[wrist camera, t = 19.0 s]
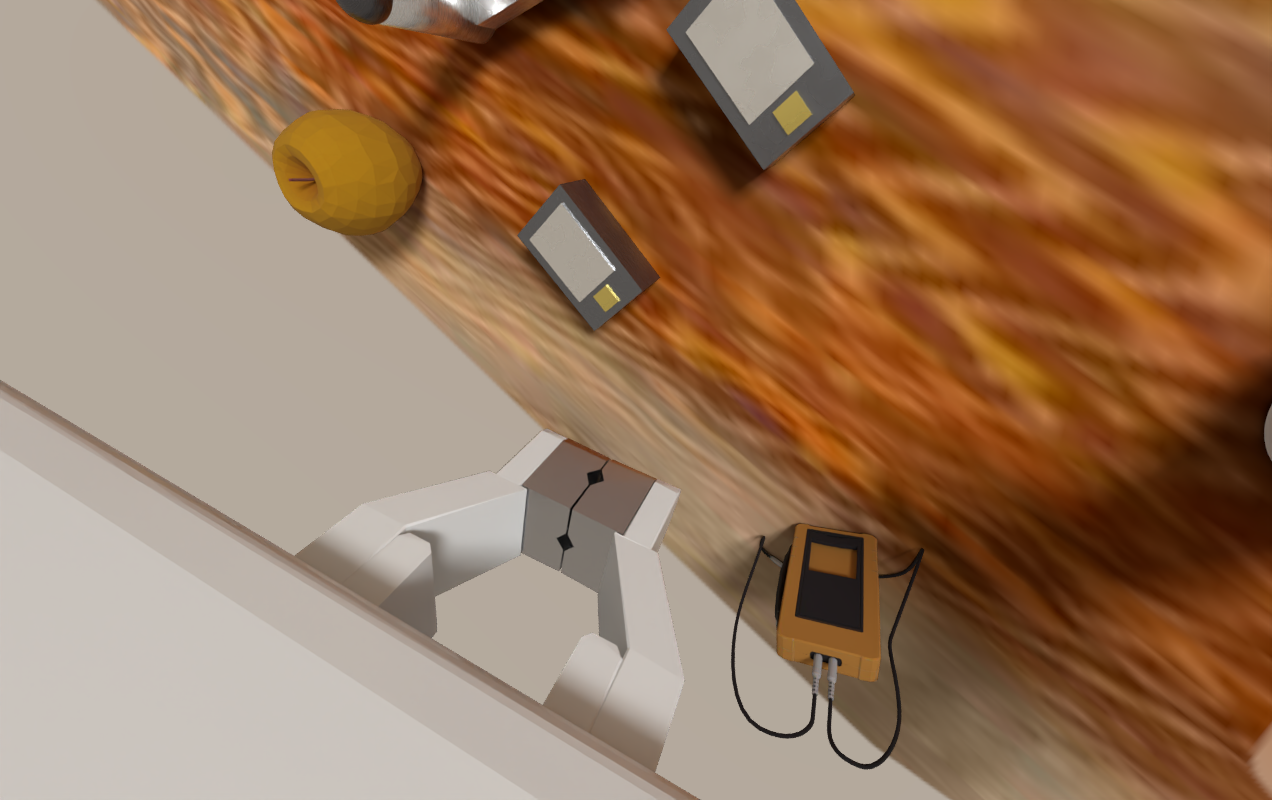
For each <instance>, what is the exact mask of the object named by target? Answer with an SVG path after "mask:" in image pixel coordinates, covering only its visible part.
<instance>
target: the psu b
mask: <svg viewBox="0 0 1272 800" xmlns="http://www.w3.org/2000/svg"><path fill="white" fill-rule="evenodd" d="M667 31H668V33H669V34H670V36H671V37H672V38H673V40H674V41H675V43H676V44H677V46H678V47H679V49H680V50H681V51H682V53H683V54H684V56H685V57H686V59H687V60H688V62H689V63H690V64H691V66H692V67H693V69H694V70H695V72H696V73H697V75H698V76H699V78H700V79H701V80H702V82H703V83H704V85H705V86H706V88H707V89H708V91H709V92H710V93H711V95H712V96H713V98H714V99H715V101H716V102H717V104H718V105H719V106H720V108H721V109H722V111H723V112H724V114H725V115H726V117H727V118H728V119H729V121H730V122H731V124H732V125H733V127H734V128H735V130H736V131H737V132H738V134H739V135H740V137H741V138H742V140H743V141H744V143H745V144H746V145H747V147H748V148H749V150H750V151H751V153H752V154H753V156H754V157H755V158H756V160H757V161H758V163H759V164H760V166H761V167H762V169H763V170H765V169H767V168H769V167H771V166H773V165H774V164H775V163H776V162H778V161H779V160H780V159H781V158H782V157H783V156H785V155H786V154H787V153H788V152H789V151H790V150H792V149H793V148H794V147H795V146H796V145H797V144H799V143H800V142H801V141H802V140H803V139H805V138H806V137H807V136H808V135H809V134H810V133H812V132H813V131H814V130H815V129H816V128H817V127H819V126H820V125H821V124H822V123H823V122H824V121H826V120H827V119H828V118H829V117H830V116H831V115H833V114H834V113H835V112H836V111H837V110H838V109H840V108H841V107H842V106H843V105H844V104H845V103H847V102H848V101H849V100H850V99H851V98H852V97H854V96H855V94H854V92H853V90H852V89H851V87H850V86H849V84H848V83H847V81H846V79H845V78H844V76H843V75H842V73H841V72H840V70H839V68H838V67H837V65H836V64H835V62H834V61H833V59H832V57H831V56H830V54H829V53H828V51H827V50H826V48H825V47H824V45H823V43H822V42H821V40H820V39H819V37H818V36H817V34H816V32H815V31H814V29H813V28H812V26H811V25H810V23H809V21H808V20H807V18H806V17H805V15H804V14H803V12H802V11H801V9H800V7H799V6H798V4H797V3H796V1H795V0H690V1H689V2H688V4H687V5H686V6H685V7H684V9H683V10H682V11H681V12H680V14H679V15H678V16H677V17H676V19H675V20H674V21H673V22H672V24H671V25H670V26H669V27H668V29H667Z"/></svg>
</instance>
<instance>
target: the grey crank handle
mask: <svg viewBox="0 0 1272 800" xmlns="http://www.w3.org/2000/svg"><path fill="white" fill-rule="evenodd" d="M542 1H543V0H336V2H337V3H338V4H339V6H340V7H341V8H342V9H343V10H344V11H345V12H346V13H347V14H348V15H349V16H351V17H352V18H354V19H355V20H357V21H359V22H362V23H365V24H370V25H376V24H380V25H385V26H390V27H396V28H401V29H406V30H411V31H416V32H421V33H427V34H432V35H437V36H442V37H447V38H452V39H458V40H463V41H468V42H473V43H478V44H483V43H486V42H488V41H489V40H490V39H491V38H492V36H493V34H494V32H495V29H497V28H498V27H500V26H502V25H503V24H505V23H507V22H508V21H510V20H512V19H513V18H515V17H517V16H518V15H520V14H522V13H523V12H525V11H527V10H528V9H530V8H532V7H533V6H535V5H537V4H538V3H540V2H542Z"/></svg>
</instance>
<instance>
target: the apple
mask: <svg viewBox="0 0 1272 800" xmlns="http://www.w3.org/2000/svg"><path fill="white" fill-rule="evenodd" d="M272 158H273V166H274V171H275V175H276V178H277V181H278V184H279V186H280V188H281V190H282V193H283V194H284V197H285V198H286V199H287V201H288V202H289V203H290V205H291V206H292V207H293V208H294V209H295V210H296V211H297V212H298V213H299V214H301V215H302V216H303V217H305V218H306V219H308V220H310V221H312V222H314V223H316V224H318V225H319V226H321V227H323V228H326V229H329V230H332V231H335V232H338V233H341V234H345V235H355V236H364V235H371V234H375V233H378V232H381V231H384V230H386V229H387V228H388V227H390V226H391V225H392V224H393V223H395V222H396V221H397V220H398V219H400V218H401V217H402V216H403V215H404V214H405V213H406V212H407V210H408V209H409V208H410V207H411V205H412V204H413V202H414V200H415V198H416V196H417V194H418V192H419V189H420V185H421V181H422V168H421V164H420V162H419V159H418V157H417V155H416V153H415V150H414V148H413V147H412V146H411V144H410V143H409V142H408V141H407V140H406V139H405V138H404V137H402V136H401V135H400V134H398V133H397V132H396V131H395V130H393V129H392V128H391V127H389V126H388V125H387V124H386V123H384V122H382V121H380V120H378V119H376V118H373V117H371V116H368V115H365V114H362V113H359V112H355V111H352V110H341V109H333V110H317V111H312V112H308V113H306V114H305V115H303V116H301V117H300V118H298V119H296V120H295V121H294V122H293V123H291V124H290V125H289V126H288V127H287V128H286V129H284V130H283V131H282V133H281V134H280V135H279V137H278V138H277V139H276V140H275V142H274V146H273V151H272Z"/></svg>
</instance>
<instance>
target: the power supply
mask: <svg viewBox="0 0 1272 800" xmlns="http://www.w3.org/2000/svg"><path fill="white" fill-rule="evenodd" d="M517 236H518V237H519V238H520V239H521V241H522V242H523V243H524V244H525V246H526V247H527V248H528V249H529V251H530V252H531V253H532V254H533V255H534V257H535V258H536V259H537V260H538V262H539V263H540V264H541V265H542V267H543V268H544V269H545V270H546V272H547V273H548V274H549V275H550V277H551V278H552V279H553V280H554V282H555V283H556V284H557V285H558V286H559V288H560V289H561V290H562V291H563V293H564V294H565V295H566V296H567V298H568V299H569V300H570V301H571V303H572V304H573V305H574V306H575V308H576V309H577V310H578V311H579V313H580V314H581V315H582V316H583V317H584V319H585V320H586V321H587V322H588V324H589V325H590V326H591V327H592V329H593V330H594V331H595V330H596V329H598V328H599V327H600V326H601V325H603V324H604V323H605V322H607V321H608V320H609V319H610V318H612V317H613V316H614V315H615V314H617V313H618V312H619V311H620V310H621V309H623V308H624V307H625V306H626V305H628V304H629V303H630V302H631V301H632V300H634V299H635V298H636V297H637V296H638V295H640V294H641V293H642V292H643V291H644V290H646V289H647V288H648V287H649V286H651V285H652V284H653V283H654V282H655V281H657V280H658V279H659V278H660V277H659V275H658V274H657V273H656V271H655V270H654V269H653V268H652V266H651V265H650V264H649V262H648V261H647V260H646V258H645V257H644V256H643V254H642V253H641V252H640V251H639V249H638V248H637V247H636V245H635V244H634V243H633V241H632V240H631V239H630V237H629V236H628V235H627V233H626V232H625V231H624V230H623V228H622V227H621V226H620V224H619V223H618V222H617V220H616V219H615V218H614V216H613V215H612V214H611V212H610V211H609V210H608V209H607V207H606V206H605V205H604V203H603V202H602V201H601V199H600V198H599V197H598V195H597V194H596V193H595V192H594V190H593V189H592V188H591V186H590V185H589V184H588V182H587V181H586V180H585V179H583V180H578V181H574V182H569V183H564V184H560V185H559V186H558V187H557V189H556V190H555V191H554V192H553V193H552V195H551V196H550V197H549V198H548V199H547V201H546V202H545V203H544V204H543V205H542V207H541V208H540V209H539V210H538V211H537V213H536V214H535V215H534V216H533V217H532V219H531V220H530V221H529V222H528V223H527V225H526V226H525V227H524V228H523V229H522V231H521V232H520V233H519V234H518V235H517Z"/></svg>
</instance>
